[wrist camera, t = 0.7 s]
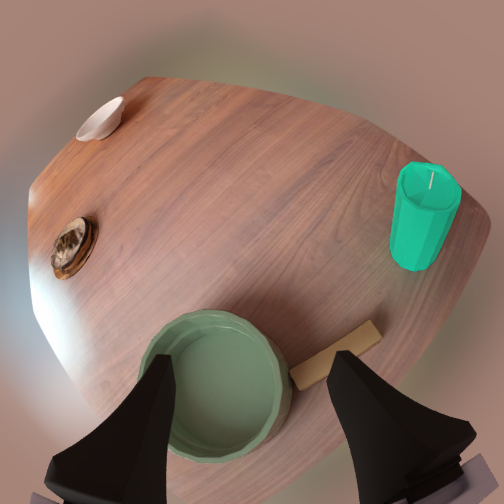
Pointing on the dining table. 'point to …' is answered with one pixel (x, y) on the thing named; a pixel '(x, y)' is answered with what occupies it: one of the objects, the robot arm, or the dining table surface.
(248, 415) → the mixing bowl
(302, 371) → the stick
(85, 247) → the brown mottled round dish
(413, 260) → the candle
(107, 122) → the bowl
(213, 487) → the dining table surface
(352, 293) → the dining table surface
